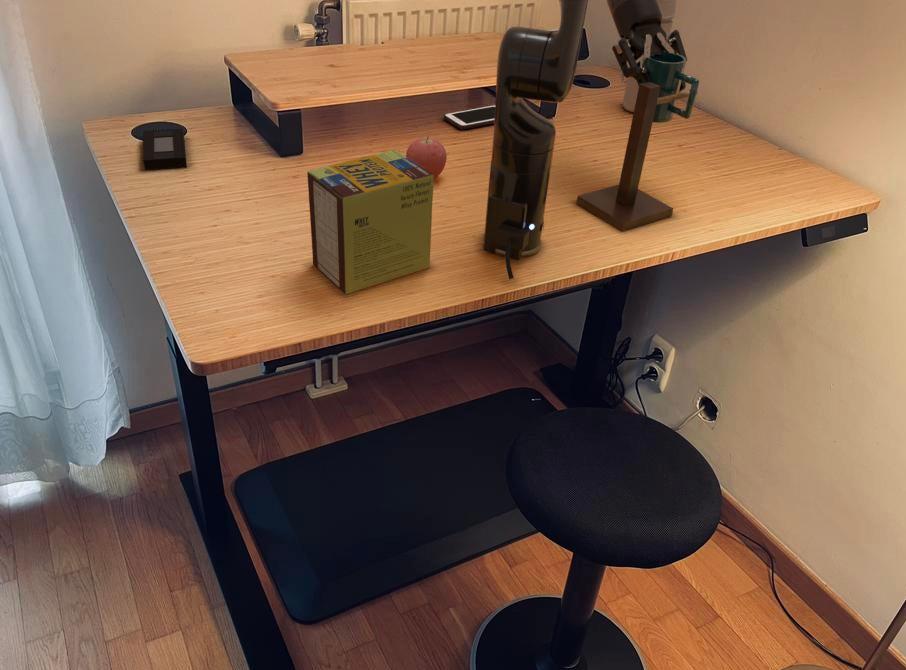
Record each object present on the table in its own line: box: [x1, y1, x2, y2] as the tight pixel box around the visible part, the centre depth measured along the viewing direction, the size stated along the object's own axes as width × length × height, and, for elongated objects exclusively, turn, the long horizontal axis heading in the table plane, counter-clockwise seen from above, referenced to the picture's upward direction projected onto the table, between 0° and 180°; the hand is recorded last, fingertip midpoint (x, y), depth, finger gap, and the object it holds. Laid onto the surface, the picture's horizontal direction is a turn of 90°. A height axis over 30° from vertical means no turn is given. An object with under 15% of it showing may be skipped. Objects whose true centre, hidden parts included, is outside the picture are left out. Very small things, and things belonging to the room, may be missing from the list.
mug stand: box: [575, 82, 699, 232], centre depth 135 cm, size 18×12×22 cm
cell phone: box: [443, 104, 495, 130], centre depth 172 cm, size 8×15×1 cm, turn 121°
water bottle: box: [621, 0, 677, 114], centre depth 174 cm, size 9×8×25 cm
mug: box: [646, 52, 700, 124], centre depth 134 cm, size 11×6×10 cm, turn 32°
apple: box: [405, 135, 448, 179], centre depth 145 cm, size 7×7×8 cm
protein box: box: [306, 149, 435, 295], centre depth 117 cm, size 10×15×16 cm
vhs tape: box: [142, 128, 188, 171], centre depth 151 cm, size 8×14×2 cm, turn 16°
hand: (665, 93), depth 135 cm, fingers closed on mug, 6 cm apart
